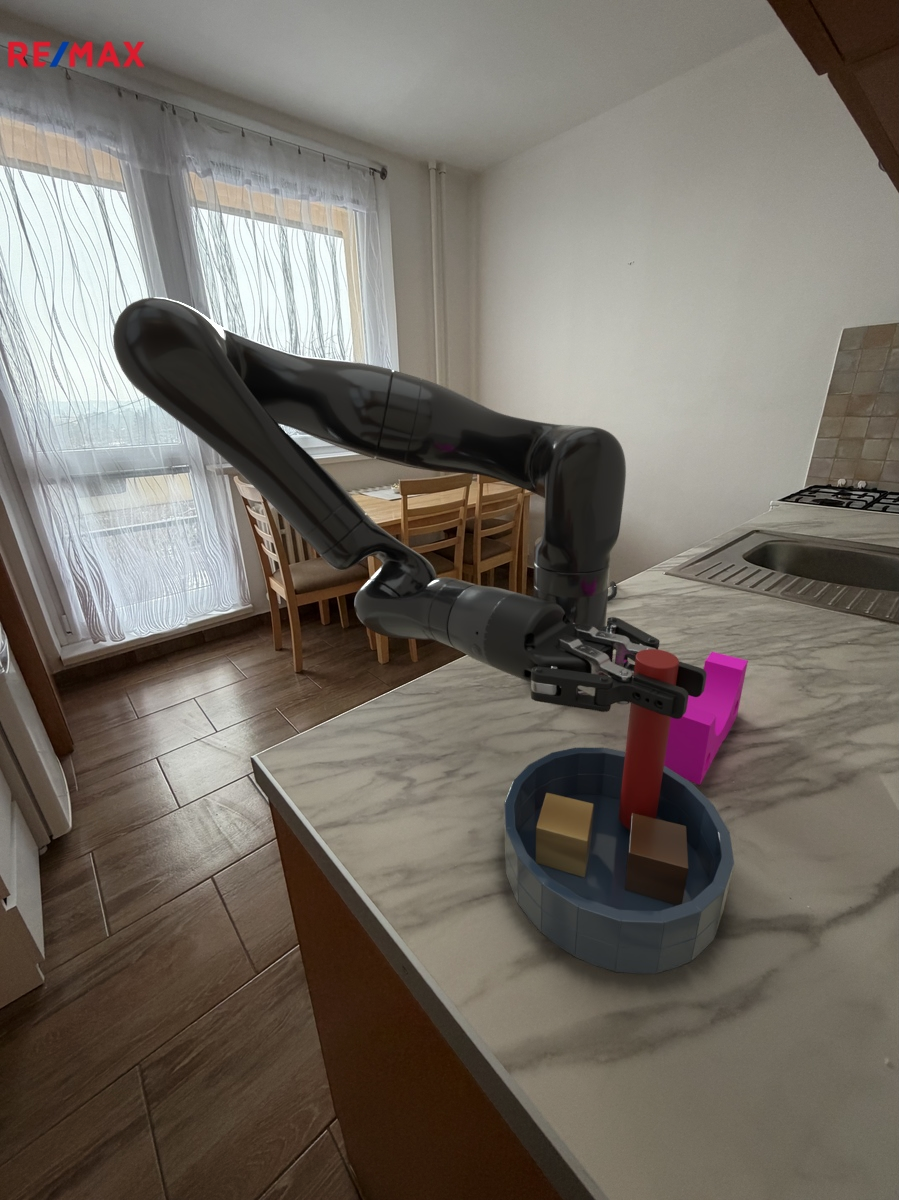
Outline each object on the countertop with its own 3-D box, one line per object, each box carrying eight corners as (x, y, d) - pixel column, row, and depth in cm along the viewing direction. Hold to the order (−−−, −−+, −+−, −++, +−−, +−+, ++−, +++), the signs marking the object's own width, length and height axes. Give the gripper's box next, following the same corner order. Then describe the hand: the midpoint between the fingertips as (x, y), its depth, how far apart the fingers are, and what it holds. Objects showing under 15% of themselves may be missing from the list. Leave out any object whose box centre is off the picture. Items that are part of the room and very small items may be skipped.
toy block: (681, 698, 61) (689, 645, 59) (737, 715, 57) (748, 660, 55) (635, 762, 51) (642, 702, 48) (699, 789, 47) (710, 725, 44)
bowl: (530, 777, 50) (531, 732, 48) (711, 819, 44) (720, 770, 42) (478, 928, 36) (476, 874, 34) (733, 1021, 30) (749, 963, 28)
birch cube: (545, 826, 43) (546, 791, 42) (591, 838, 42) (593, 803, 40) (535, 863, 40) (535, 827, 38) (584, 878, 38) (587, 841, 37)
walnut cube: (627, 848, 41) (632, 812, 39) (679, 862, 39) (686, 825, 38) (624, 890, 37) (629, 852, 36) (681, 907, 36) (688, 868, 34)
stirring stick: (619, 802, 44) (636, 646, 38) (655, 811, 43) (678, 651, 37) (617, 827, 41) (634, 664, 35) (654, 837, 40) (679, 670, 34)
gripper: (454, 618, 40) (661, 691, 29) (548, 574, 50) (734, 616, 38) (457, 694, 43) (648, 788, 32) (546, 639, 52) (719, 697, 41)
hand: (693, 694), depth 35 cm, fingers closed on stirring stick, 3 cm apart
